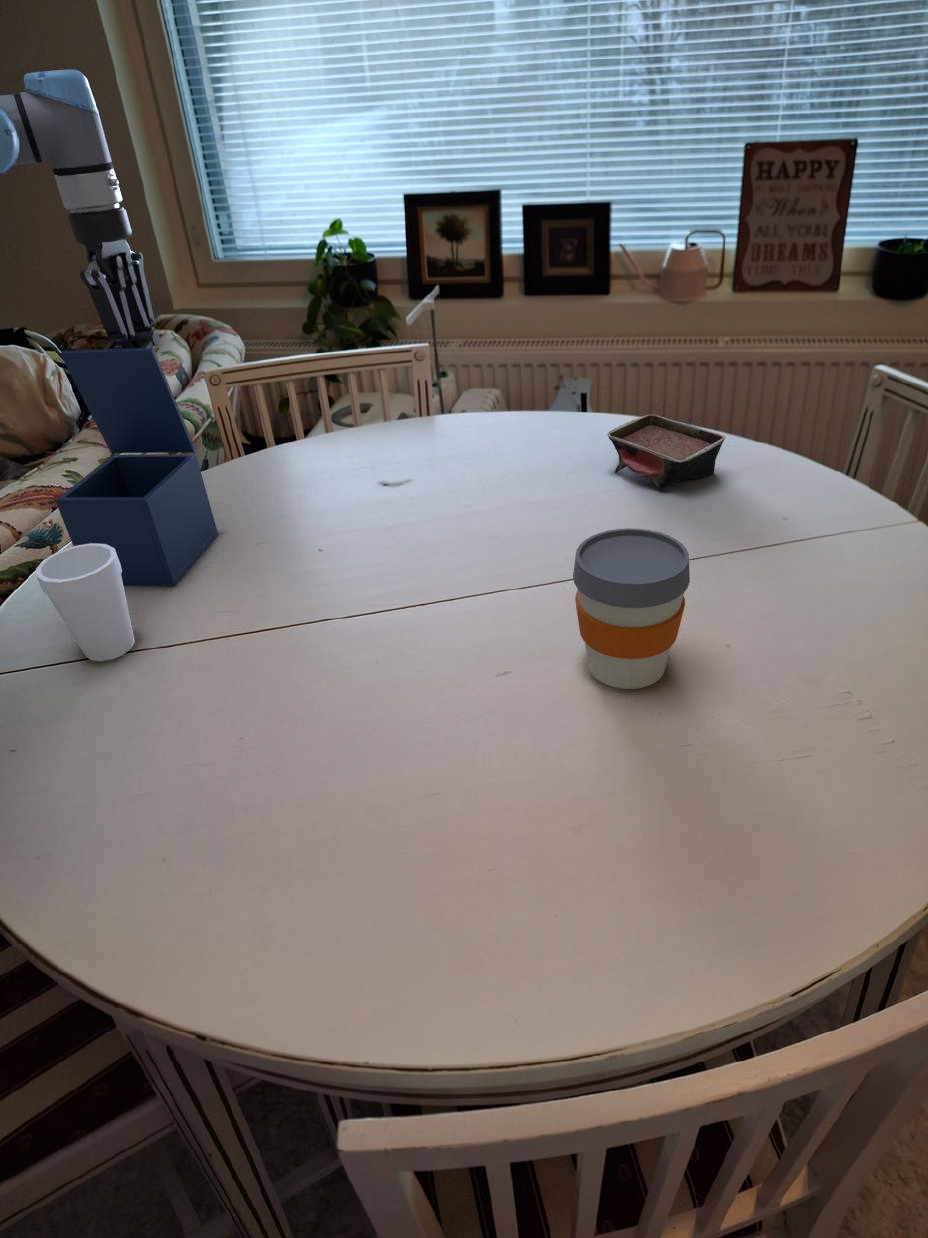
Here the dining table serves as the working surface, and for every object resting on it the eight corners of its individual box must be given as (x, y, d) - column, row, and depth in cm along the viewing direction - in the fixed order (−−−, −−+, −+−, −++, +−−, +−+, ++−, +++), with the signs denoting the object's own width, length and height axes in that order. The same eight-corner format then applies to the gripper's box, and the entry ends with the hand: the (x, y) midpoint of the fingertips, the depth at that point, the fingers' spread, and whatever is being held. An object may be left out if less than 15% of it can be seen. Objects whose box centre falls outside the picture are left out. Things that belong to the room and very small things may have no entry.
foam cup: (160, 629, 109) (131, 545, 101) (121, 671, 101) (87, 584, 94) (99, 624, 111) (66, 541, 103) (57, 665, 103) (18, 579, 96)
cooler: (174, 586, 118) (146, 500, 110) (88, 584, 120) (54, 500, 112) (218, 534, 131) (196, 453, 123) (139, 533, 133) (112, 454, 125)
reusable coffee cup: (551, 673, 94) (550, 563, 86) (608, 623, 102) (612, 517, 94) (646, 714, 87) (654, 598, 79) (700, 656, 95) (712, 545, 87)
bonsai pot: (663, 512, 130) (679, 457, 123) (592, 464, 141) (602, 410, 134) (724, 492, 136) (741, 438, 130) (651, 447, 147) (664, 396, 141)
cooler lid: (151, 350, 110) (175, 319, 116) (59, 353, 113) (87, 322, 118) (194, 452, 122) (214, 419, 128) (110, 453, 125) (134, 421, 131)
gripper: (90, 215, 102) (146, 397, 115) (147, 198, 114) (192, 364, 127) (37, 218, 103) (99, 398, 116) (99, 201, 115) (148, 365, 128)
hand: (147, 380), depth 122 cm, fingers closed on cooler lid, 2 cm apart
